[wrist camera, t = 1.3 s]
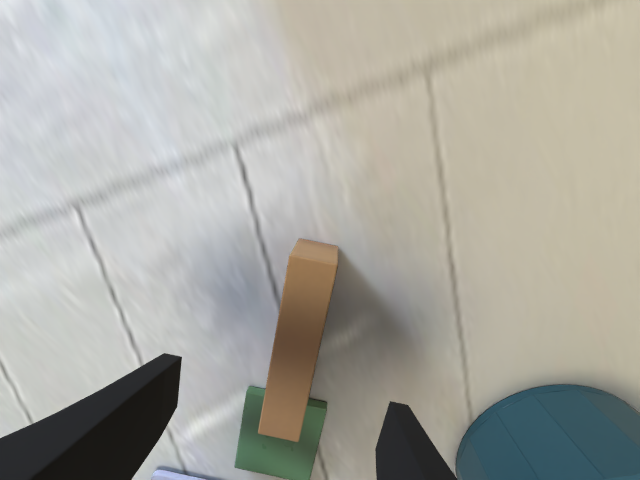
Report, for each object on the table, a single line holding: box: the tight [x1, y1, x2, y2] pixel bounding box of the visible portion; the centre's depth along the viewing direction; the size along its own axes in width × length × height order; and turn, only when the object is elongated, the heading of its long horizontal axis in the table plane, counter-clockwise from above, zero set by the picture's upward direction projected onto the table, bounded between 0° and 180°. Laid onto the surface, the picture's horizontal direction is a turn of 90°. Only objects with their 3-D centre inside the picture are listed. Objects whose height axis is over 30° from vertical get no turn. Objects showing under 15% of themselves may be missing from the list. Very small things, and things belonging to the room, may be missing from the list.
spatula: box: [235, 239, 338, 480], centre depth 17 cm, size 16×5×3 cm, turn 169°
